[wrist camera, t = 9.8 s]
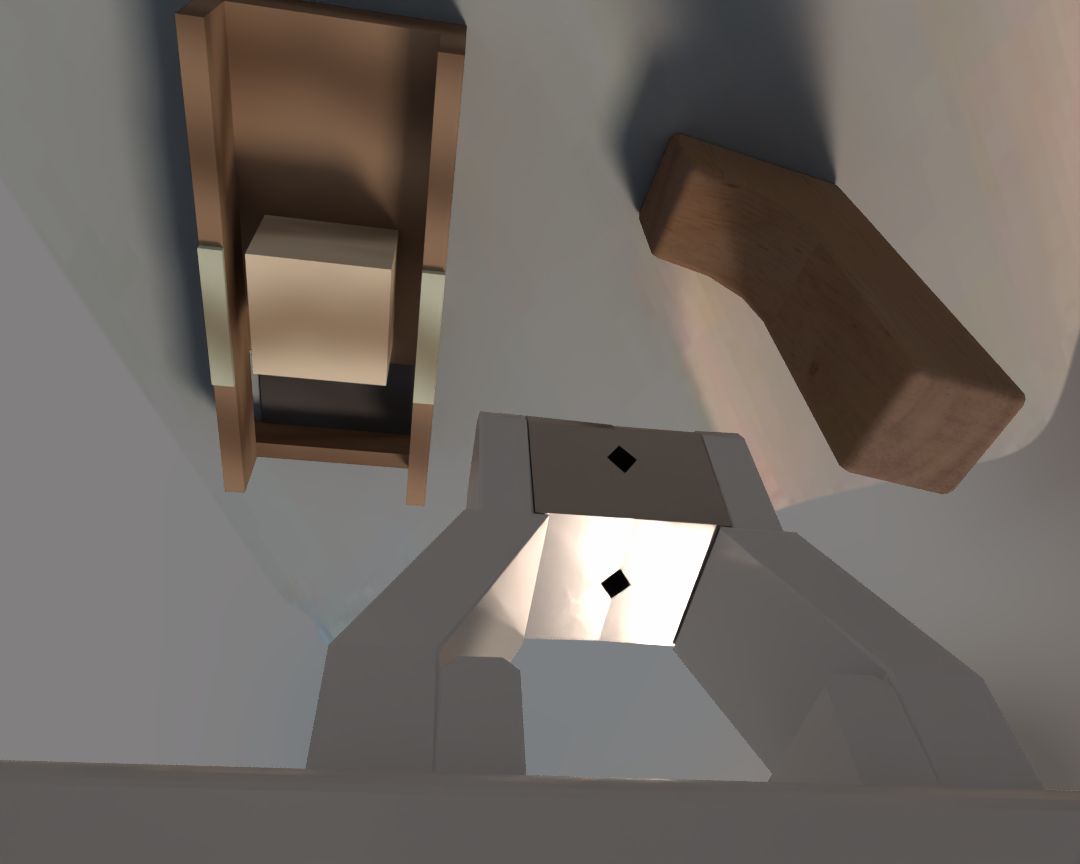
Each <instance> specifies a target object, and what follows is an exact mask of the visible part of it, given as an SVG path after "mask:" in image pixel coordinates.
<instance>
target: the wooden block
mask: <svg viewBox="0 0 1080 864" xmlns="http://www.w3.org/2000/svg"><path fill="white" fill-rule="evenodd" d="M639 220H640V222H641V225H642V228H643V231H644V233H645V236H646V239H647V242H648V244H649V247H650V250H651V253H652V254H653V255H654V256H656V257H657V258H660V259H663V260H666V261H668V262H671V263H674V264H677V265H679V266H682V267H685V268H688V269H690V270H693V271H696V272H699V273H701V274H704V275H707V276H709V277H711V278H712V279H714V280H715V281H717V282H718V283H720V284H721V285H723V286H725V287H726V288H728V289H729V290H731V291H732V292H734V293H735V294H737V295H738V296H740V297H742V298H743V299H744V300H745V301H746V303H747V304H748V305H749V306H750V307H751V308H752V309H753V310H754V312H755V313H756V314H757V315H758V316H759V317H760V318H761V320H762V321H763V322H764V324H765V326H766V327H767V329H768V331H769V333H770V335H771V337H772V339H773V341H774V343H775V344H776V346H777V348H778V350H779V352H780V354H781V356H782V358H783V360H784V361H785V363H786V365H787V367H788V369H789V371H790V373H791V375H792V377H793V378H794V380H795V382H796V384H797V386H798V388H799V390H800V392H801V394H802V395H803V397H804V399H805V401H806V403H807V405H808V407H809V409H810V411H811V412H812V414H813V416H814V418H815V420H816V422H817V424H818V426H819V428H820V429H821V431H822V433H823V435H824V437H825V439H826V441H827V443H828V444H829V446H830V448H831V450H832V452H833V454H834V456H835V458H836V460H837V461H838V463H839V465H840V466H841V467H842V468H844V469H845V470H847V471H848V472H851V473H855V474H859V475H863V476H868V477H872V478H876V479H880V480H885V481H889V482H893V483H897V484H901V485H906V486H910V487H914V488H918V489H923V490H927V491H931V492H935V493H940V494H947V493H949V492H951V491H953V490H954V489H955V488H956V487H957V485H958V484H959V483H960V482H961V480H962V479H963V478H964V477H965V476H966V474H967V473H968V472H969V471H970V469H971V468H972V467H973V466H974V465H975V464H976V462H977V461H978V460H979V459H980V457H981V456H982V455H983V454H984V453H985V451H986V450H987V449H988V448H989V447H990V445H991V444H992V443H993V442H994V440H995V439H996V438H997V437H998V436H999V434H1000V433H1001V432H1002V431H1003V430H1004V428H1005V427H1006V426H1007V425H1008V423H1009V422H1010V421H1011V420H1012V419H1013V417H1014V416H1015V415H1016V414H1017V413H1018V411H1019V410H1020V409H1021V408H1022V406H1023V405H1024V402H1025V395H1024V393H1023V392H1022V391H1021V390H1020V388H1019V387H1018V386H1017V385H1016V384H1015V383H1014V382H1013V381H1012V380H1011V378H1010V377H1009V376H1008V375H1007V374H1006V373H1005V372H1004V371H1003V370H1002V368H1001V367H1000V366H999V365H998V364H997V363H996V362H995V361H994V360H993V358H992V357H991V356H990V355H989V354H988V353H987V352H986V351H985V349H984V348H983V347H982V346H981V345H980V344H979V343H978V342H977V341H976V339H975V338H974V337H973V336H972V335H971V334H970V333H969V332H968V331H967V329H966V328H965V327H964V326H963V325H962V324H961V323H960V322H959V321H958V319H957V318H956V317H955V316H954V315H953V314H952V313H951V312H950V311H949V309H948V308H947V307H946V306H945V305H944V304H943V303H942V302H941V301H940V299H939V298H938V297H937V296H936V295H935V294H934V293H933V292H932V291H931V289H930V288H929V287H928V286H927V285H926V284H925V283H924V282H923V281H922V279H921V278H920V277H919V276H918V275H917V274H916V273H915V272H914V271H913V269H912V268H911V267H910V266H909V265H908V264H907V263H906V262H905V261H904V259H903V258H902V257H901V256H900V255H899V254H898V253H897V252H896V251H895V249H894V248H893V247H892V246H891V245H890V244H889V243H888V242H887V240H886V239H885V238H884V237H883V236H882V235H881V234H880V232H879V231H878V230H877V229H876V228H875V227H874V226H873V225H872V223H871V222H870V221H869V220H868V219H867V218H866V217H865V216H864V215H863V213H862V212H861V211H860V210H859V209H858V208H857V207H856V206H855V205H854V204H853V203H852V201H851V200H850V199H849V198H848V197H847V196H846V195H845V194H844V193H843V192H842V190H841V189H840V188H839V187H838V186H837V185H835V184H832V183H829V182H826V181H823V180H820V179H817V178H813V177H810V176H807V175H804V174H801V173H798V172H795V171H792V170H789V169H786V168H783V167H780V166H777V165H774V164H771V163H768V162H765V161H762V160H759V159H756V158H753V157H750V156H747V155H744V154H741V153H738V152H734V151H731V150H728V149H725V148H722V147H719V146H716V145H713V144H710V143H707V142H704V141H701V140H698V139H695V138H692V137H689V136H686V135H683V134H678V135H674V136H673V137H672V138H671V139H670V141H669V143H668V146H667V148H666V151H665V153H664V155H663V158H662V160H661V163H660V165H659V167H658V170H657V172H656V175H655V177H654V179H653V182H652V184H651V187H650V189H649V191H648V194H647V196H646V199H645V201H644V203H643V206H642V208H641V211H640V213H639Z"/></svg>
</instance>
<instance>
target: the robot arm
mask: <svg viewBox="0 0 1080 864" xmlns="http://www.w3.org/2000/svg"><path fill="white" fill-rule="evenodd" d="M524 638H528V639H569V640H601V641H602V640H603V641H615V642H627V643H641V644H653V645H666V646H674V648H673V650H674V651H675V653H676V654H677V655H678V656H679V658H680V659H681V660H682V662H683V663H684V664H685V665H686V666H687V668H688V669H689V670H690V672H691V673H692V674H693V675H694V676H695V678H696V679H697V680H698V682H699V683H700V684H701V685H702V686H703V688H704V689H705V690H706V691H707V693H708V694H709V695H710V696H711V698H712V699H713V700H714V701H715V703H716V704H717V705H718V706H719V708H720V709H721V710H722V711H723V713H724V714H725V715H726V716H727V718H728V719H729V720H730V721H731V723H732V724H733V725H734V726H735V728H736V729H737V730H738V731H739V733H740V734H741V735H742V736H743V738H744V739H745V740H746V741H747V743H748V744H749V745H750V746H751V748H752V749H753V750H754V751H755V753H756V754H757V755H758V756H759V758H760V759H761V760H762V761H763V762H764V764H765V765H766V766H767V768H768V769H769V770H770V771H771V773H772V776H771V777H770V779H769V781H768V782H748V781H714V780H713V781H712V780H677V779H676V780H675V779H644V778H609V777H574V776H540V775H526V764H525V749H524V748H525V747H524V729H523V712H522V694H521V677H520V670H518V669H517V668H516V667H515V666H513V665H512V664H511V663H510V662H511V660H512V659H513V657H514V655H515V654H516V653H517V651H518V650H519V648H520V647H521V645H522V643H523V640H524ZM0 864H1080V791H1070V790H1067V791H1066V790H1045V788H1044V786H1043V784H1042V782H1041V781H1040V779H1039V777H1038V775H1037V774H1036V772H1035V770H1034V768H1033V767H1032V765H1031V763H1030V761H1029V759H1028V758H1027V756H1026V754H1025V752H1024V751H1023V749H1022V747H1021V745H1020V743H1019V742H1018V740H1017V739H1016V736H1015V735H1014V733H1013V731H1012V729H1011V728H1010V726H1009V724H1008V722H1007V720H1006V719H1005V717H1004V715H1003V713H1002V712H1001V710H1000V708H999V706H998V704H997V703H996V701H995V699H994V697H993V696H992V694H991V692H990V690H989V689H988V687H987V685H986V683H985V682H984V680H983V678H982V677H980V676H979V675H978V674H977V673H975V672H974V671H973V670H972V669H970V668H969V667H968V666H966V665H965V664H964V663H963V662H961V661H960V660H959V659H957V658H956V657H955V656H954V655H952V654H951V653H950V652H948V651H947V650H946V649H945V648H943V647H942V646H941V645H940V644H938V643H937V642H936V641H934V640H933V639H932V638H931V637H929V636H928V635H927V634H925V633H924V632H923V631H922V630H920V629H919V628H918V627H917V626H915V625H914V624H913V623H911V622H910V621H909V620H907V619H906V618H905V617H904V616H902V615H901V614H900V613H898V612H897V611H896V610H895V609H893V608H892V607H891V606H890V605H888V604H887V603H886V602H884V601H883V600H882V599H881V598H879V597H878V596H877V595H876V594H874V593H873V592H871V591H870V590H869V589H868V588H867V587H865V586H864V585H863V584H861V583H860V582H859V581H858V580H856V579H855V578H854V577H852V576H851V575H850V574H848V573H847V572H846V571H845V570H843V569H842V568H841V567H840V566H838V565H837V564H836V563H835V562H833V561H832V560H831V559H829V558H828V557H827V556H825V555H824V554H823V553H822V552H820V551H819V550H818V549H816V548H815V547H814V546H813V545H811V544H810V543H809V542H807V541H806V540H805V539H804V538H802V537H801V536H800V535H799V534H797V533H795V532H784V531H783V530H782V527H781V525H780V522H779V520H778V518H777V515H776V513H775V511H774V508H773V506H772V503H771V501H770V499H769V496H768V494H767V492H766V489H765V487H764V484H763V482H762V480H761V477H760V475H759V472H758V470H757V468H756V465H755V463H754V461H753V458H752V456H751V453H750V451H749V449H748V446H747V444H746V442H745V439H744V438H743V437H742V436H740V435H739V434H738V433H721V432H703V431H695V432H684V431H672V430H659V429H646V428H633V427H621V426H612V425H608V424H599V423H589V422H580V421H571V420H562V419H552V418H543V417H534V416H525V417H524V416H523V415H513V414H502V413H491V412H480V413H479V417H478V420H477V426H476V433H475V441H474V448H473V456H472V463H471V471H470V478H469V486H468V494H467V505H466V509H465V510H464V511H463V512H462V513H461V514H460V515H459V516H458V517H457V518H456V519H455V520H454V521H453V522H452V523H451V524H450V525H449V526H448V527H447V528H446V529H445V530H444V531H443V532H442V533H441V534H440V535H439V536H438V537H437V538H436V539H435V540H434V541H433V542H432V543H431V544H430V545H429V546H428V547H427V548H426V549H425V550H424V551H423V552H422V553H421V554H420V555H419V556H418V557H417V558H416V559H415V560H414V561H413V562H412V563H411V564H410V565H409V566H408V567H407V568H406V569H405V570H404V571H403V572H402V573H401V574H400V575H399V576H398V577H397V578H396V579H395V580H394V581H393V582H392V583H391V584H390V585H389V586H388V587H387V588H386V589H385V590H384V591H383V592H382V593H381V594H380V595H379V596H378V597H377V598H376V599H374V600H373V601H372V602H371V603H370V604H369V605H368V606H367V607H366V608H365V609H364V610H363V611H362V612H361V613H360V614H359V615H358V616H357V617H356V618H355V619H354V620H353V621H352V622H351V623H350V624H349V625H348V626H347V627H346V628H345V629H344V630H343V631H342V632H341V633H340V634H339V635H338V636H337V637H336V638H335V639H334V640H333V641H332V642H331V643H330V644H329V645H328V651H327V656H326V662H325V667H324V672H323V677H322V683H321V688H320V694H319V699H318V704H317V710H316V715H315V720H314V726H313V731H312V736H311V742H310V747H309V753H308V758H307V763H306V769H294V768H293V769H292V768H258V767H255V768H254V767H222V766H187V765H186V766H185V765H152V764H151V765H150V764H117V763H115V764H114V763H79V762H47V761H45V762H44V761H11V760H9V761H8V760H0Z"/></svg>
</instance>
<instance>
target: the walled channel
mask: <svg viewBox="0 0 1080 864" xmlns="http://www.w3.org/2000/svg"><path fill="white" fill-rule="evenodd" d="M175 21H176V31H177V40H178V50H179V59H180V69H181V78H182V88H183V97H184V107H185V116H186V126H187V135H188V145H189V154H190V164H191V173H192V183H193V192H194V202H195V211H196V221H197V230H198V240H199V246H198V247H197V252H198V261H199V270H200V280H201V289H202V299H203V308H204V317H205V327H206V336H207V345H208V355H209V364H210V373H211V383H212V385H214V392H215V402H216V411H217V421H218V430H219V440H220V449H221V459H222V468H223V478H224V487H225V491H227V492H241V493H245V490H246V487H247V484H248V481H249V479H250V476H251V473H252V470H253V467H254V464H255V461H256V458H257V457H268V458H281V459H294V460H307V461H320V462H332V463H345V464H358V465H371V466H383V467H396V468H408V482H407V496H406V504H407V505H420V506H425V495H426V484H427V473H428V461H429V450H430V439H431V428H432V417H433V406H434V395H435V384H436V373H437V361H438V350H439V339H440V328H441V317H442V306H443V294H444V283H445V272H446V260H447V249H448V238H449V227H450V216H451V205H452V193H453V182H454V171H455V160H456V149H457V138H458V126H459V115H460V104H461V93H462V82H463V70H464V59H465V45H466V30H467V26H465V25H458V24H451V23H445V22H438V21H431V20H425V19H418V18H411V17H405V16H398V15H392V14H385V13H378V12H372V11H365V10H358V9H352V8H345V7H338V6H332V5H325V4H319V3H312V2H305V1H299V0H192V1H191V2H190V3H188V4H187V5H186V6H184V7H183V8H181V9H180V10H179V11H177V12H176V13H175ZM265 215H272V216H280V217H289V218H297V219H306V220H314V221H323V222H332V223H340V224H349V225H357V226H366V227H375V228H383V229H392V230H399V237H398V257H397V276H396V296H395V316H394V335H393V345H392V352H391V358H390V364H389V370H388V376H387V382H386V386H382V385H371V384H360V383H350V382H339V381H328V380H317V379H306V378H295V377H284V376H273V375H262V374H260V387H261V403H262V418H263V421H262V420H254V409H253V395H252V381H251V367H250V353H249V350H252V348H251V333H250V319H249V304H248V290H247V276H246V261H245V253H246V251H247V249H248V247H249V245H250V243H251V241H252V239H253V237H254V235H255V233H256V231H257V229H258V227H259V225H260V223H261V221H262V220H263V218H264V216H265Z"/></svg>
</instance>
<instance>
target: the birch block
mask: <svg viewBox="0 0 1080 864" xmlns="http://www.w3.org/2000/svg"><path fill="white" fill-rule="evenodd" d="M398 237H399V230H392V229H383V228H375V227H366V226H357V225H349V224H340V223H332V222H323V221H314V220H306V219H297V218H289V217H280V216H272V215H265V216H264V218H263V220H262V221H261V223H260V225H259V227H258V229H257V231H256V233H255V235H254V237H253V239H252V241H251V243H250V245H249V247H248V249H247V251H246V253H245V261H246V276H247V290H248V304H249V319H250V333H251V348H252V362H253V374H262V375H273V376H284V377H295V378H306V379H317V380H328V381H339V382H350V383H360V384H371V385H382V386H386V382H387V376H388V370H389V364H390V358H391V352H392V345H393V335H394V316H395V296H396V276H397V257H398Z"/></svg>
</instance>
